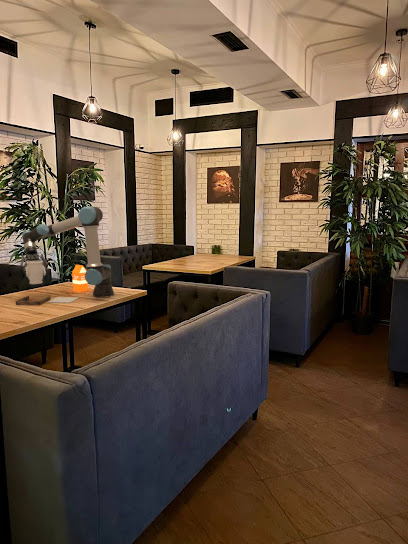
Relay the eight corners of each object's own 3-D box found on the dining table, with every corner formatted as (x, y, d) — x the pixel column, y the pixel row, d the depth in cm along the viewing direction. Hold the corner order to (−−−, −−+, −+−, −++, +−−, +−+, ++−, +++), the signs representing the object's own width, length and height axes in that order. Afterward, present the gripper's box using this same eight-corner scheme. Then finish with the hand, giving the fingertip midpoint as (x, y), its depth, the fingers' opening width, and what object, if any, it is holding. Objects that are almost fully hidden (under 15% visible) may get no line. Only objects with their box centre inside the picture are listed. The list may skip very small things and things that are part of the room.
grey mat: (79, 298, 286) (79, 297, 286) (70, 303, 270) (70, 302, 270) (57, 297, 287) (57, 297, 287) (47, 302, 271) (47, 302, 271)
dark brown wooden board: (50, 299, 281) (50, 296, 280) (39, 305, 264) (39, 301, 263) (28, 299, 281) (28, 295, 281) (15, 304, 265) (15, 301, 264)
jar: (38, 284, 265) (36, 262, 263) (24, 284, 267) (22, 262, 265) (47, 282, 276) (46, 260, 274) (33, 281, 278) (32, 260, 276)
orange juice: (81, 289, 320) (80, 264, 317) (88, 290, 315) (87, 265, 312) (72, 290, 314) (71, 265, 311) (79, 291, 309) (78, 266, 306)
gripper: (47, 252, 288) (53, 276, 277) (12, 254, 276) (17, 279, 265) (48, 245, 282) (54, 270, 272) (13, 247, 271) (17, 272, 260)
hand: (36, 274), depth 268 cm, fingers closed on jar, 10 cm apart
